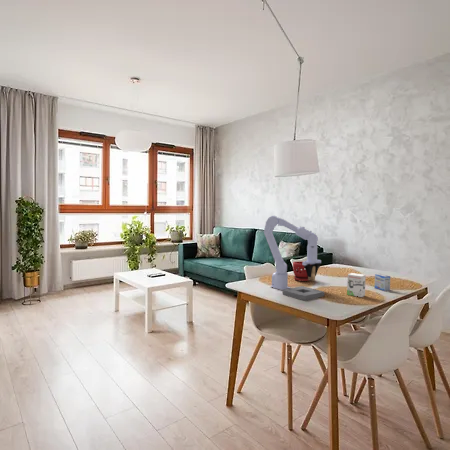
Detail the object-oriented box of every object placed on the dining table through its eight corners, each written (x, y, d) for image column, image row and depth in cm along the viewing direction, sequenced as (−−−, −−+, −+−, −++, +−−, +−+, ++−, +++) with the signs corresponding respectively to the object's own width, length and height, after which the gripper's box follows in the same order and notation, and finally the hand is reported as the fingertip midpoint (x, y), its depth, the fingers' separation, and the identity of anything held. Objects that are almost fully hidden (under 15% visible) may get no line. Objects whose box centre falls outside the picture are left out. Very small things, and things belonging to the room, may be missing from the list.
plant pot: (314, 282, 225) (315, 264, 224) (294, 282, 225) (294, 263, 225) (310, 278, 238) (310, 260, 238) (291, 277, 238) (291, 260, 238)
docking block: (282, 294, 194) (282, 290, 194) (302, 290, 204) (302, 286, 203) (304, 300, 181) (304, 296, 181) (324, 296, 191) (324, 291, 190)
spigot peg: (306, 279, 206) (307, 266, 205) (311, 278, 208) (311, 265, 207) (312, 280, 202) (312, 267, 202) (316, 280, 205) (316, 266, 204)
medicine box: (374, 288, 209) (374, 274, 209) (379, 287, 211) (380, 273, 210) (384, 291, 202) (384, 276, 202) (390, 290, 204) (390, 275, 203)
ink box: (346, 294, 194) (347, 273, 193) (350, 293, 197) (350, 272, 197) (362, 297, 188) (362, 276, 187) (365, 295, 192) (365, 274, 191)
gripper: (309, 255, 197) (308, 278, 198) (325, 253, 205) (325, 276, 206) (299, 253, 202) (299, 276, 203) (316, 252, 211) (315, 274, 212)
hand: (311, 276), depth 205 cm, fingers closed on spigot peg, 4 cm apart
